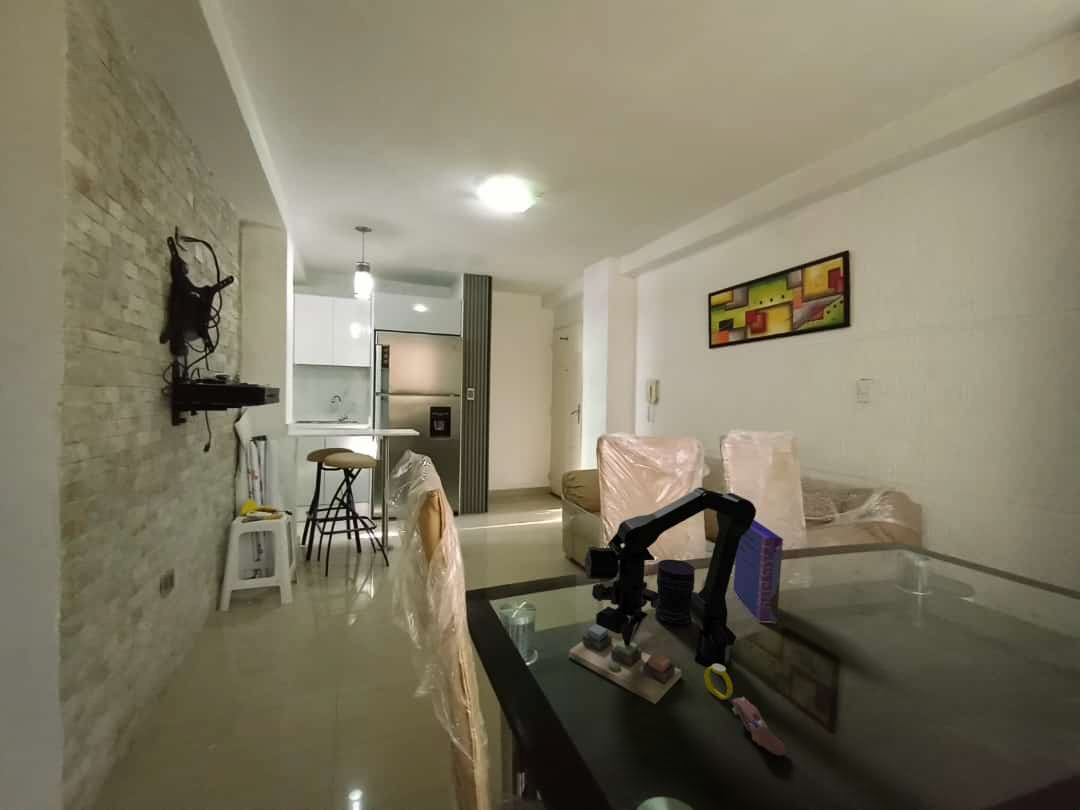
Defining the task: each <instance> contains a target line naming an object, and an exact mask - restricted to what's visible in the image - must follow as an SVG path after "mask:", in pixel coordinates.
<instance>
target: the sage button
mask: <svg viewBox="0 0 1080 810" xmlns="http://www.w3.org/2000/svg"><path fill="white" fill-rule="evenodd" d="M619 641H620V642H619V643H618V644H617V648H616V650H617V651H619V652H621V653H623V654H625V655H627V656H629V657H631V656H632V655H633V654H634V653H635V652H636V651H637V647H638V644H637V643H636V642H633V641H632V642H631V644H630V645H629V646H627V645H625V644H624V641H623V639H622V640H619Z"/></svg>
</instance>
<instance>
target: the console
mask: <svg viewBox="0 0 1080 810" xmlns="http://www.w3.org/2000/svg"><path fill="white" fill-rule="evenodd" d="M620 641H621V640H618V639H616V638H614V637H613V635H612V634H610V633H608V634H607V637H606V638H605V639H604V640H602V641H601V642H599V641H597V640H595V639H592V638H590V637H588V631H587V632H586V633H584V634H582V641H581V642H579V643H578V644H576V645H575V646H573V647H572V648H571V649H569V650H568V658H570V657H571V658H570V659H572V660H573V659H574V660H573V661H575V660H576V661H575V662H578V664H581V665H582V666H585V667H587V668H588V669H589V670H591V671H594V672H595V673H597V674H599V675H601V676H603V677H605V678H607V679H608V680H610V681H612V682H614V683H615V684H617V685H619V686H621V687H623V688H625V689H627V690H629V691H631V692H632V693H634V694H636V695H638V696H639V697H642V698H643V699H645V700H647V701H649V702H650V703H652V704H654V705H656V704H657V703H658V702H659V701H660V700H661V699H662V698H663V697H664V696H665V695H666V693H667V692H668V691H669V690H670V689H671V688H672V686H674V685H675V683H676V682H678V680H679V679H680V678H681V677H682V669H679V668H678V667H676V664H674V663H672V662H670V667H669V668H668V669H667V670H666V671H665V672H664V673H662V672H660V671H658V670H656V669H654V668H652V667H650V666H648V661H649V657H651V656H652V655H650V654H648V653H646V652H645V651H643V649H642V648H640V647H638V646H637V651H636V652H635V653H634V654H633V655H632V656H631V657H629V656H627V655H625V654H623V653H621V652H619V651H617V650H616V648H617V644H618V643H619V642H620Z"/></svg>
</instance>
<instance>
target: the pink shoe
mask: <svg viewBox="0 0 1080 810" xmlns="http://www.w3.org/2000/svg"><path fill="white" fill-rule="evenodd" d="M731 703H732V704H733V706H734V707H732V711H733V712H732V713H734V714H735V716H737V715H739V718H740V719H741V721H742V723H743V725H744V727H745V728H746V729H747V731H748V732H749V733H750V734H751V739H752V740H753V742H755V743H756V744H757V746H759V747H760V746H762V747H763V748H765V750H766V751H768V752H769V753H771V754H773V755H775V756H779V757H780V756H784V755H785V754H786V746H785V745H784V743H783V742H782V741H781V740H780V739H778V738H777V737H776V736H775V735H774V734H773V732H771V730H770V729H769V726H768V725H767V724H766V722H765V720H764V719H763V717H762V716H761V713H760V710H759V709H758V708H757V707H756V706H755V705H754V704H752V703H751V702H750V701H749V700H748V699H747V698H746V697H745V696H743V697H736V698H734V699H732V700H731Z"/></svg>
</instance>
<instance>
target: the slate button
mask: <svg viewBox="0 0 1080 810" xmlns="http://www.w3.org/2000/svg"><path fill="white" fill-rule="evenodd" d="M587 632H588V637H590V638H592V639H595V640H597V641H599V642H601V641H602V640H604V639H605V638H606V637H607V634H609V630H608V629H606V628H604V627H601V626H599V625H597V624H596V623H594V625H591V626H590V627H589V628H587Z"/></svg>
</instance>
